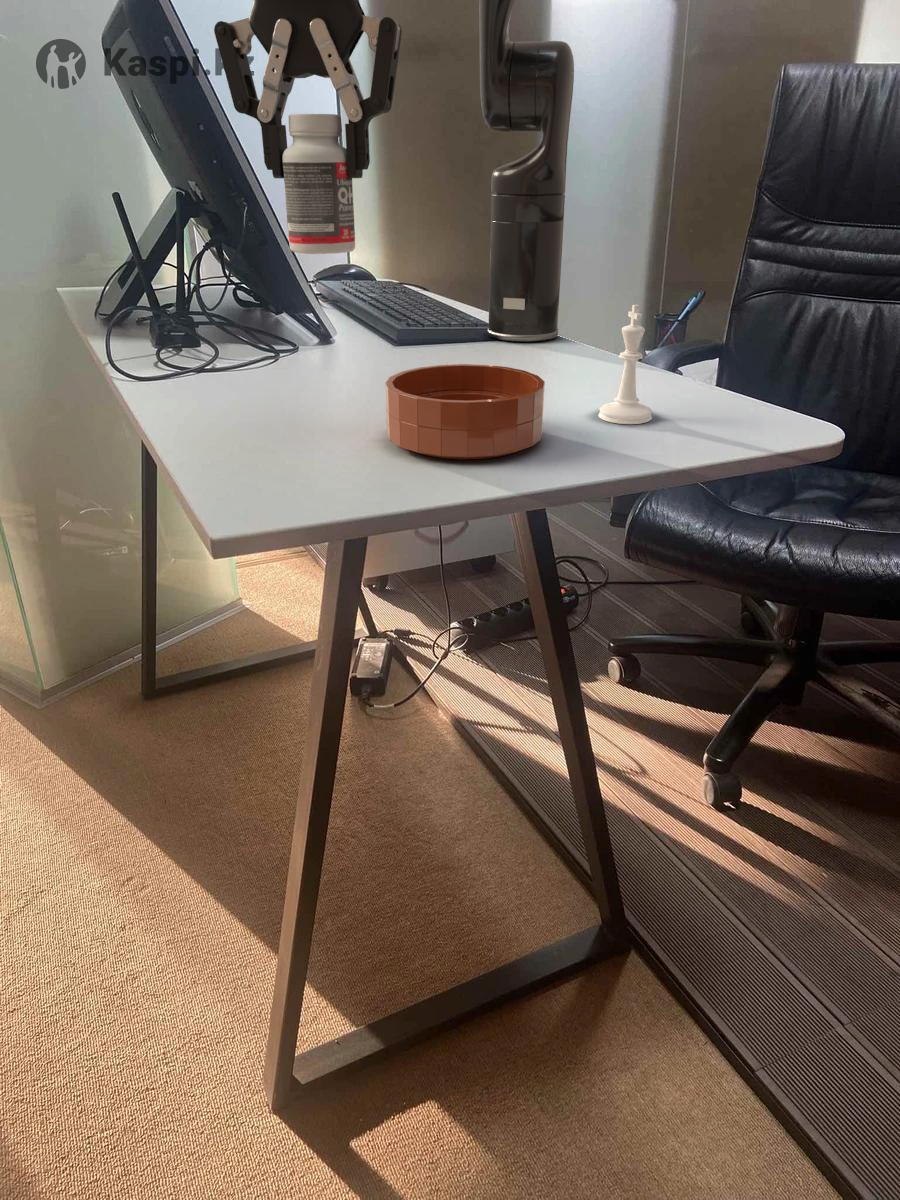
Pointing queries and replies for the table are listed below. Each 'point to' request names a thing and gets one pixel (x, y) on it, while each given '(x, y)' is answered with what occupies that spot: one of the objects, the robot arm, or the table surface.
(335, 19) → the robot arm
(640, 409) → the chess piece
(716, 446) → the table surface
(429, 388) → the bowl
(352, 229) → the pill bottle
